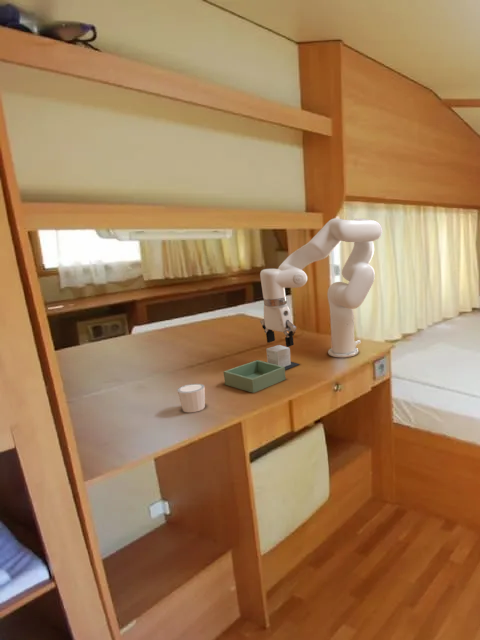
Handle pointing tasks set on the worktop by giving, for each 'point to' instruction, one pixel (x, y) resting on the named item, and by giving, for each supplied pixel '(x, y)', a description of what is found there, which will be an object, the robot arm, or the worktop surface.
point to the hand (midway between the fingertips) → (280, 343)
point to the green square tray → (254, 376)
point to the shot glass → (192, 397)
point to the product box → (279, 355)
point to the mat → (291, 365)
